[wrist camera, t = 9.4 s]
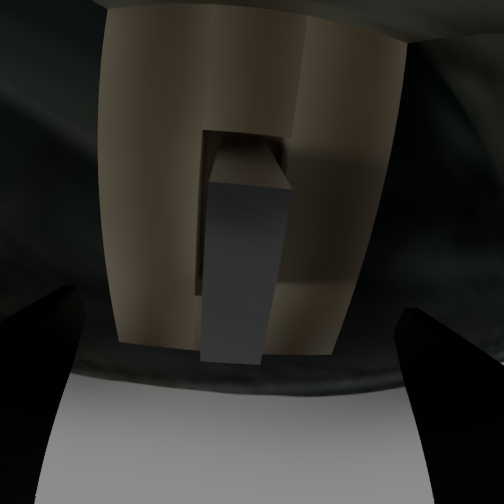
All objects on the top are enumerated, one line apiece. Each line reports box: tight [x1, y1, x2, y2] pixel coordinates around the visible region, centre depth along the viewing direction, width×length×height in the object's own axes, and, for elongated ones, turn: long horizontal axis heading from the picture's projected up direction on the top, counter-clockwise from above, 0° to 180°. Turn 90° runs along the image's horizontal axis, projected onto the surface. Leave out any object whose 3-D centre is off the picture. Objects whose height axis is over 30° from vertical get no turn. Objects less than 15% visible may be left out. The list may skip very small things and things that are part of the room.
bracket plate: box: [200, 136, 293, 365], centre depth 12 cm, size 2×6×8 cm, turn 173°
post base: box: [92, 0, 504, 355], centre depth 11 cm, size 12×18×12 cm, turn 174°
